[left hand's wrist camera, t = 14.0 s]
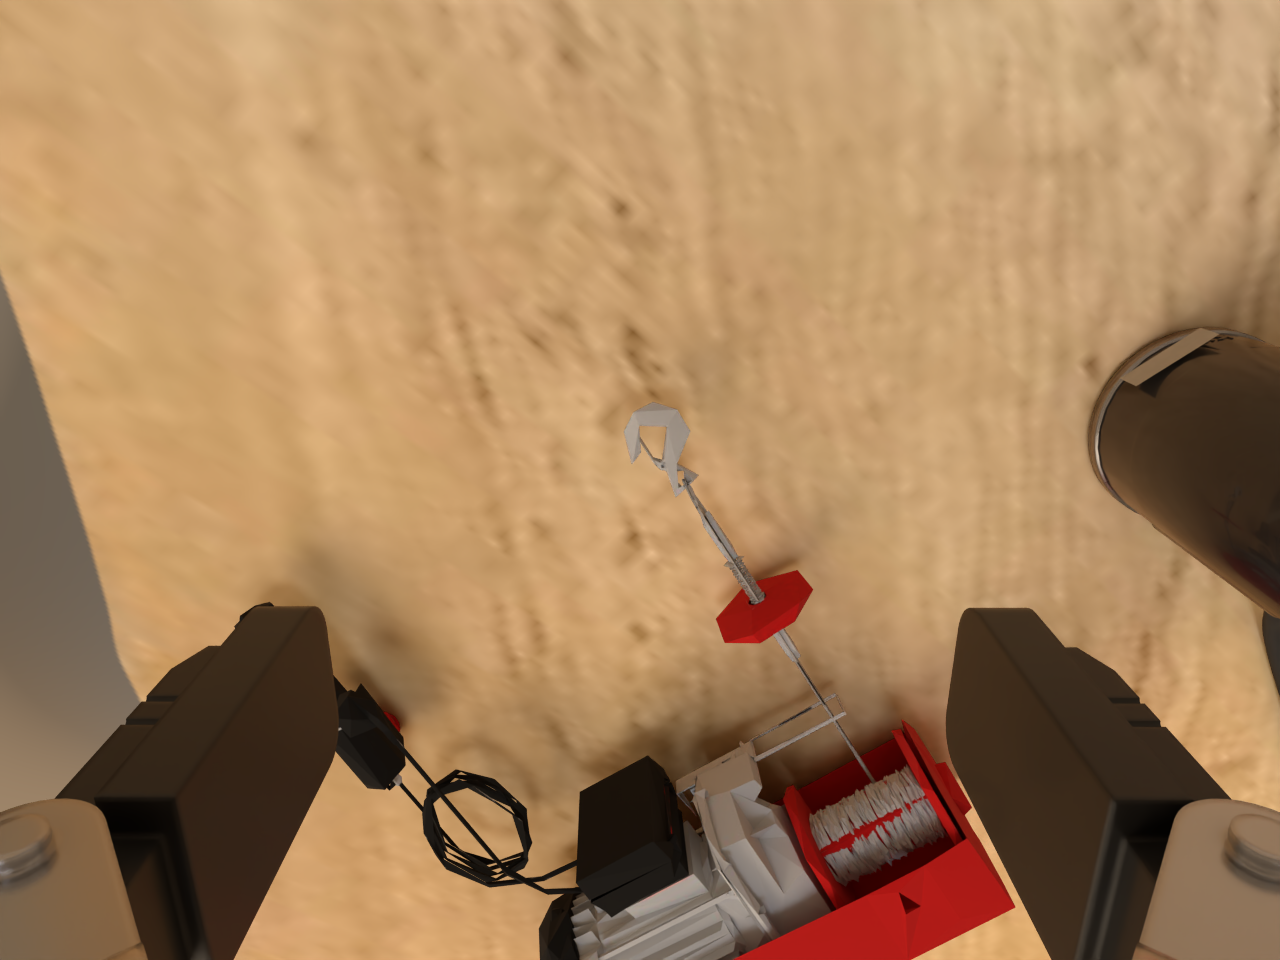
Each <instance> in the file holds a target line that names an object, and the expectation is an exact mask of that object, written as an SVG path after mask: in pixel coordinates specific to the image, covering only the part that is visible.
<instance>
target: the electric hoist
mask: <svg viewBox="0 0 1280 960" xmlns="http://www.w3.org/2000/svg"><path fill="white" fill-rule="evenodd" d="M639 426H662V427H667V428H666V435H665V443H664V450H663V458H662V460H661V459H657V458H654V457H653V456H652V455H651V453H650V452H649V450H648V448H647V447H646V445H645V444H644V442H643V441H642V439H641V437H640V433H639ZM689 433H690V430H689V428H688V427H687V425H686V423H685V422H684V420H683V418H682V417H681V415H680V414H679V412H678V410H677V409H674V408H671V407H667V406H664V405H661V404H658V403H655V402H652V403H650V404H648V405H646V406H644V407H642V408H640V409H639V410H637V411H635V412H633V414H632V416H631V418H630V420H629V422H628V424H627V426H626V428H625V430H624V434H625V438H626V443H627V447H628V451H629V455H630V459H631V464H633V462H634V461H635V460H636V458H637V457H638V455H639V454H640V453H641V447H640V443H641V444H642V446H643V447H644V449H645V450H646V452H647V453H648V455H649V457H650V458H651V460H652V461H653V463H654V464H655V465H656V466H657V467H658V468H659V469H660V470H664V471H666V472H667V474H668V477H669V480H670V482H671V485H672V488H673V491H674V494H675V497H677V496H678V495H679V494H680V493H681V492H682V491H683V490H684V489H685V488H686V490H687V492H688V494H689V496H690V498H691V500H692V502H693V503H694V505H695V507H696V509H697V510H698V512H699V514H700V516H701V518H702V522H703V526H704V528H705V529H706V531H707V532H708V534H709V535H710V537H711V538H712V539H713V541H714V542H715V544H716V545H717V547H718V548H719V550H720V551H721V552H722V554H723V555H724V556H725V558H726V559H727V560H728V562H727V563H726V564H725V565H724V566H727V567H729V568H730V570H732V572H733V573H734V574H733V575H734V576H735V578H736V579H737V580H738V583H741V585H740V586H741V587H743V588H742V589H741V591H740V592H739V593H738V594H737V595H736V596H735V597H734V599H733V600H732V601H731V602H730V603H729V604H728V606H727V607H726V608H725V609H724V610H723V611H722V612H721V614H720V615H719V616H718V617H717V618H716V620H717V623H718V626H719V628H720V631H721V634H722V637H723V639H724V642H725V643H761V642H763V641H764V640H766V639H768V638H769V637H771V636H772V635H773V636H774V637H775V638H776V640H777V641H778V643H779V644H780V646H781V647H782V649H783V650H784V651H785V653H786V654H787V656H788V657H789V658H790V659H791V660H792V661H793V662H795V663H796V665H797V667H798V668H799V670H800V671H801V673H802V674H803V676H804V677H805V679H806V681H807V682H808V684H809V685H810V687H811V688H812V690H813V691H814V693H815V695H816V696H817V698H818V699H819V702H817V703H815V704H814V705H812V706H810V707H808V708H806V709H805V710H803V711H801V712H799V713H797V714H795V715H794V716H792V717H790V718H788V719H786V720H785V721H783V722H781V723H779V724H777V725H776V726H774V727H772V728H770V729H768V730H766V731H765V732H763V733H761V734H759V735H757V736H756V737H754V738H752V739H750V740H749V742H747V743H745V744H744V743H743V742H741V741H740V743H739V744H740V747H738V748H736V749H735V750H733V751H731V752H729V753H727V754H725V755H723V756H721V757H720V758H718V759H716V760H714V761H712V762H710V763H708V764H706V765H704V766H703V767H701V768H699V769H697V770H695V771H693V772H691V773H689V774H687V775H686V776H684V777H682V778H680V779H678V780H676V792H675V790H674V788H673V785H672V783H671V782H670V779H669V778H668V776H667V774H666V772H665V771H664V769H663V768H662V767H661V766H660V765H658V764H657V763H656V762H655V761H654V760H652V759H651V758H650V757H649V756H646V757H644V758H642V759H641V760H639V761H637V762H635V763H633V764H631V765H629V766H627V767H626V768H624V769H622V770H620V771H618V772H616V773H614V774H613V775H611V776H609V777H607V778H605V779H603V780H601V781H599V782H598V783H596V784H594V785H592V786H590V787H588V788H586V789H585V790H583V791H581V792H580V801H579V825H578V849H577V860H575V861H573V862H571V863H569V864H567V865H565V866H563V867H561V868H559V869H556V870H554V871H552V872H550V873H548V874H546V875H544V876H541V877H531V878H525V877H523V876H521V875H520V874H518V873H516V872H517V871H519V870H521V869H523V868H524V867H525V866H526V864H527V862H528V852H529V849H530V847H531V844H532V841H531V838H530V834H529V827H528V820H527V809H526V808H525V807H524V806H523V805H522V804H521V803H520V802H519V801H518V800H517V799H516V798H514V797H513V796H512V795H511V794H510V793H509V792H508V791H507V790H506V789H505V788H504V787H502V786H501V785H500V784H499V783H498V782H497V781H496V780H495V779H493V778H489V777H485V776H481V775H476V774H472V773H468V772H464V771H460V770H454V771H453V772H452V773H450V774H449V775H447V776H446V777H444V778H443V779H442V780H440V781H439V782H437V783H436V784H435V783H434V782H433V781H432V780H431V779H430V777H429V776H428V775H427V774H426V773H425V771H424V770H423V769H422V768H421V767H420V766H419V764H418V763H417V762H416V761H415V760H414V758H413V757H412V756H411V755H410V754H409V753H408V751H407V750H406V749H405V748H404V741H403V736H402V735H401V734H400V733H399V732H400V725H399V722H398V720H397V719H396V717H395V716H393V715H391V714H389V713H387V712H383V711H382V710H381V708H380V707H379V706H378V704H377V703H376V702H375V701H374V699H373V698H372V697H371V695H370V694H369V693H368V692H367V690H366V689H365V688H364V686H363V685H362V684H360V685H359V687H358V689H357V690H356V692H354V691H352V690H349V691H346V689H345V688H344V687H343V686H342V685H341V684H340V682H339V681H338V680H337V679H336V678H335V677H334V675H333V677H334V685H335V692H336V699H337V706H338V715H339V730H338V740H337V746H336V752H337V754H338V755H339V756H340V757H341V758H342V759H343V761H344V762H345V763H346V764H347V765H348V766H349V767H350V769H351V770H352V771H353V772H354V773H355V774H356V776H357V777H358V778H359V779H360V780H361V781H362V782H363V784H364V785H365V786H366V787H367V788H370V789H383V790H385V789H386V788H387V789H388V790H389V791H390V790H391V789H392V788H393V787H394V786H395V785H397V786H400V787H401V788H402V789H403V790H404V791H405V793H406V794H407V795H408V796H409V797H410V798H411V800H412V801H413V802H414V803H415V804H416V805H417V806H418V808H419V809H420V810H421V811H422V812H423V813H422V816H423V830H424V835H425V837H426V838H427V840H428V842H429V844H430V846H431V847H432V849H433V851H434V853H435V855H436V856H437V857H438V859H439V860H440V862H441V863H442V864H443V866H444V867H445V868H446V869H447V870H449V871H451V872H454V873H456V874H459V875H461V876H463V877H466V878H468V879H471V880H473V881H475V882H478V883H480V884H483V885H485V886H487V887H498V886H506V885H515V884H523V883H524V884H526V885H529V886H531V887H533V888H535V889H537V890H539V891H541V892H544V893H546V894H548V895H549V894H564V895H562V896H560V897H559V898H557V899H555V900H554V901H552V903H551V905H550V907H549V909H548V911H547V913H546V915H545V917H544V919H543V921H542V923H541V926H540V928H539V945H540V960H911V959H913V958H915V957H917V956H919V955H921V954H923V953H925V952H927V951H929V950H931V949H933V948H935V947H937V946H939V945H941V944H943V943H945V942H947V941H949V940H951V939H953V938H955V937H957V936H959V935H961V934H963V933H965V932H967V931H969V930H971V929H973V928H975V927H977V926H979V925H981V924H983V923H985V922H987V921H989V920H991V919H993V918H995V917H997V916H999V915H1001V914H1003V913H1005V912H1007V911H1009V910H1011V909H1013V908H1015V905H1014V903H1013V901H1012V899H1011V897H1010V895H1009V894H1008V892H1007V890H1006V888H1005V886H1004V884H1003V882H1002V880H1001V878H1000V876H999V875H998V873H997V871H996V869H995V867H994V865H993V864H992V862H991V860H990V858H989V856H988V854H987V853H986V851H985V849H984V847H983V845H982V843H981V842H980V840H979V838H978V837H977V835H976V834H975V832H974V831H973V829H972V827H971V826H970V824H969V822H968V820H967V818H966V817H965V814H966V813H967V812H968V811H969V810H970V809H971V808H972V807H971V805H970V803H969V802H968V800H967V798H966V797H965V795H964V793H963V791H962V790H961V788H960V786H959V785H958V783H957V781H956V780H955V778H954V776H953V774H952V773H951V771H950V769H949V768H948V766H947V764H946V763H945V762H943V763H939V764H936V762H935V761H934V759H933V758H932V756H931V755H930V753H929V751H928V750H927V748H926V747H925V745H924V744H923V742H922V740H921V739H920V737H919V736H918V734H917V733H916V731H915V729H914V728H912V727H911V726H910V725H909V724H907V723H906V722H905V721H903V720H902V719H901V720H902V724H903V728H904V732H905V733H903V731H902V730H901V729H898V730H892V733H893V735H894V737H895V738H894V739H892V740H890V741H888V742H886V743H885V744H883V745H881V746H879V747H877V748H875V749H873V750H872V751H870V752H868V753H866V754H864V755H862V756H859V755H858V753H857V751H856V750H855V748H854V747H853V745H852V744H851V742H850V740H849V739H848V737H847V736H846V734H845V733H844V731H843V729H842V728H841V726H840V725H839V723H838V721H837V719H839V718H841V717H842V716H844V715H846V712H845V710H844V708H843V706H842V704H841V701H840V699H839V697H838V695H837V694H836V693H834V694H832V695H830V696H828V697H826V698H825V699H823V698H822V696H821V695H820V693H819V692H818V690H817V688H816V687H815V685H814V684H813V682H812V680H811V679H810V677H809V676H808V674H807V673H806V671H805V669H804V668H803V666H802V665H801V663H800V662H799V660H798V658H799V657H800V656H801V655H800V653H799V652H798V650H797V648H796V646H795V644H794V642H793V641H792V639H791V638H790V636H789V635H788V633H787V632H786V631H785V629H784V628H785V627H787V626H788V625H790V624H791V623H793V622H795V620H796V618H797V617H798V615H799V613H800V612H801V610H802V608H803V606H804V605H805V603H806V601H807V599H808V598H809V596H810V594H811V592H812V591H813V589H812V587H811V586H810V585H809V584H808V582H807V581H806V580H805V579H804V578H803V576H802V575H801V574H800V573H799V571H798V570H796V571H792V572H788V573H785V574H781V575H777V576H774V577H770V578H766V579H763V580H759V581H755V580H754V578H753V576H751V574H750V573H749V572H748V569H747V568H746V566H745V565H744V562H742V560H741V559H742V558H743V557H744V556H737V554H736V552H735V550H734V548H733V546H732V544H731V542H730V541H729V539H728V538H727V536H726V535H725V534H724V532H723V531H722V529H721V528H720V526H719V525H718V523H717V522H716V520H715V519H714V517H713V516H712V515H711V513H710V512H709V511H706V509H705V508H704V506H703V505H702V504H701V502H700V501H699V499H698V498H697V497H696V495H695V493H694V491H693V489H692V487H691V486H690V484H691V483H692V482H693V481H694V480H695V479H696V477H697V476H698V474H696V473H694V472H692V471H690V470H689V469H687V468H685V467H683V466H681V465H680V464H678V463H677V462H678V460H679V457H680V455H681V453H682V450H683V448H684V445H685V443H686V440H687V438H688V436H689ZM682 470H683V471H684V479H682V482H683V484H684V485H683V486H681V485H680V484H679V483H678V476H677V471H682ZM736 558H737V560H736ZM739 563H740V564H739ZM742 563H743V564H742ZM740 565H742V566H744V567H743V568H741V567H742V566H740ZM734 569H735V571H736V572H735V571H734ZM745 572H746V573H745ZM747 574H748V576H747ZM737 575H738V576H737ZM749 575H750V576H749ZM738 578H740V579H738ZM739 580H740V581H739ZM741 580H742V581H741ZM749 581H752V582H749ZM742 585H744V586H742ZM259 606H273V604H272V603H270V602H268V603H264V604H260V605H256V606H254V607H252V608H251V609H249V610H248V611H246V612H245V613H243V614H242V615H241V616H240V621H239V622H238V623H237V624H236V625H235V626H234V627H235V628H236V627H237V626H238V625H239V624H240V622H241V621H242V620H243V619H244V618H245V616H246V615H247V614H248V613H249V612H250V611H251V610H252V609H253V608H255V607H259ZM834 697H837V699H838V701H839V704H840V706H841V708H842V710H843V712H842V713H840V714H838V715H836V716H834V715H833V714H832V712H831V710H830V709H829V707H828V706H827V704H826V703H825V702H826V701H828V700H830V699H832V698H834ZM821 704H822V705H823V707H824V709H825V710H826V712H827V713H828V715H829V716H830V719H828V720H826V721H825V722H823V723H821V724H819V725H817V726H815V727H813V728H811V729H809V730H807V731H805V732H803V733H801V734H799V735H797V736H795V737H793V738H791V739H789V740H787V741H786V742H784V743H782V744H780V745H778V746H776V747H774V748H772V749H770V750H768V751H766V752H764V753H762V754H760V755H758V756H756V752H755V749H754V745H753V741H754V740H755V739H757V738H759V737H761V736H763V735H765V734H767V733H768V732H770V731H772V730H774V729H776V728H778V727H780V726H782V725H783V724H785V723H787V722H789V721H791V720H793V719H795V718H796V717H798V716H800V715H802V714H804V713H806V712H808V711H810V710H811V709H813V708H815V707H817V706H819V705H821ZM831 722H833V723H834V724H835V726H836V727H837V729H838V730H839V732H840V733H841V735H842V737H843V738H844V740H845V741H846V743H847V744H848V746H849V747H850V749H851V751H852V752H853V754H854V755H855V757H856V758H857V759H855V760H853V761H851V762H849V763H847V764H846V765H844V766H842V767H840V768H838V769H836V770H834V771H833V772H831V773H829V774H827V775H825V776H823V777H821V778H820V779H818V780H816V781H814V782H812V783H810V784H808V785H807V786H805V787H803V788H801V789H799V790H796V788H795V787H794V785H792V786H790V787H787V789H786V792H785V795H784V798H782V799H781V800H779V801H777V802H775V803H773V804H771V803H768V802H766V801H764V800H762V799H760V798H758V797H757V796H758V794H759V793H760V791H761V789H762V784H761V780H760V775H759V771H758V767H757V763H756V761H759V760H761V759H763V758H765V757H767V756H769V755H771V754H772V753H774V752H776V751H778V750H780V749H782V748H784V747H786V746H788V745H789V744H791V743H793V742H795V741H797V740H799V739H801V738H803V737H805V736H806V735H808V734H810V733H812V732H814V731H816V730H818V729H820V728H822V727H824V726H825V725H827V724H829V723H831ZM405 756H406V757H407V758H408V760H409V761H410V762H411V763H412V764H413V766H414V767H415V768H416V769H417V770H418V771H419V773H420V774H421V775H422V776H423V777H424V778H425V780H426V781H427V782H428V783H429V784H430V786H431V787H430V788H429V789H427V795H426V799H425V800H424V806H422V805H421V804H420V803H419V802H418V801H417V799H416V798H415V797H414V796H413V795H412V794H411V793H410V791H409V790H408V789H407V788H406V787H405V786H404V785H403V783H402V777H401V776H400V775H399V773H400V771H401V770H402V769H403V768H404V767H405V765H406V764H405ZM460 772H462V773H464V774H466V775H457V774H459V773H460ZM454 778H458V780H457V781H455V782H451V781H452V780H453V779H454ZM460 779H463V780H467V781H462V780H460ZM450 782H451V783H450ZM390 783H391V784H390ZM389 784H390V786H389ZM488 786H489V787H488ZM490 787H491V788H490ZM465 788H469V789H471V790H473V791H474V792H476V793H478V794H480V795H482V796H483V797H485V798H487V799H489V800H491V801H493V802H494V803H496V804H497V805H499V806H500V807H502V808H503V809H504V810H506V811H507V812H509V813H510V814H512V816H513V819H514V822H515V825H516V828H517V831H518V834H519V837H520V840H521V843H522V847H523V850H524V851H523V852H521V853H518V854H515V855H512V856H510V857H507V858H504V859H501V860H499V859H498V858H497V857H496V855H495V854H494V853H493V852H492V851H491V849H490V848H489V847H488V846H487V845H486V844H485V842H484V841H483V840H482V839H481V838H480V836H479V835H478V834H477V833H476V832H475V831H474V829H473V828H472V827H471V826H470V825H469V823H468V822H467V821H466V820H465V819H464V818H463V816H462V815H461V814H460V813H459V812H458V810H457V809H456V808H455V807H454V806H453V805H452V803H451V802H450V801H449V800H448V799H447V797H446V796H445V795H444V794H448V793H451V792H455V791H458V790H462V789H465ZM492 788H493V789H492ZM689 788H690V791H691V793H692V794H693V796H694V797H693V800H692V801H691V802H693V803H694V805H695V807H696V810H697V812H698V814H699V817H700V819H701V824H702V825H701V828H699V829H697V830H694V829H693V827H692V826H691V825H690V824H689V822H688V821H685V822H683V819H682V812H681V811H680V810H679V809H678V806H677V795H678V796H679V798H680V799H681V800H682V801H683V802H684V803H685V804H686V805H687V806H688V808H689V809H690V810H691V811H692V812H693V813H694V814H695V812H694V810H693V809H692V807H691V805H690V802H688V800H687V798H686V797H685V795H684V793H683V792H684V791H686V790H688V789H689ZM494 789H495V790H494ZM676 794H677V795H676ZM440 797H441V798H442V800H443V801H444V802H445V803H446V804H447V806H448V807H449V808H450V809H451V810H452V811H453V813H454V814H455V815H456V816H457V817H458V819H459V820H460V821H461V822H462V823H463V824H464V826H465V827H466V828H467V829H468V830H469V831H470V833H471V834H472V835H473V836H474V837H475V839H476V840H477V841H478V842H479V843H480V844H481V846H482V847H483V848H484V849H485V850H486V851H487V853H488V854H489V855H490V856H491V857H492V859H493V860H491V859H488V858H484V857H481V856H478V855H474V854H471V853H467V852H464V851H462V850H461V849H459V848H458V846H457V845H456V844H455V843H454V842H453V841H452V840H451V838H450V837H449V836H448V835H447V834H446V833H445V832H444V830H443V829H442V828H441V827H440V824H439V821H438V818H437V815H436V811H435V808H434V805H433V803H434V802H435V801H436V800H437V799H439V798H440ZM491 798H492V799H491ZM512 798H513V799H514V800H516V802H517V803H516V802H515V801H514V800H513V799H512ZM493 799H494V800H496V801H499V802H501V803H503V804H505V805H508V806H510V807H511V809H512V810H513V812H514V814H513V813H512V812H511V811H509V810H508V809H506V808H505V807H503V806H502V805H500V804H499V803H497V802H496V801H494V800H493ZM695 815H696V814H695ZM696 817H697V816H696ZM697 818H698V817H697ZM704 832H705V833H704ZM702 833H704V834H702ZM700 834H702V837H700V836H699V835H700ZM443 836H444V837H445V838H446V840H447V841H448V842H449V843H450V844H451V845H452V846H451V845H449V844H448V843H446V842H445V841H444V837H443ZM446 846H447V847H449V848H450V849H452V850H453V851H455V852H456V853H458V854H460V855H461V856H463V857H464V858H466V859H467V860H465V859H463V858H461V857H458V856H456V855H453V854H451V853H449V852H448V851H447V849H446ZM453 846H454V847H453ZM455 847H456V848H457V849H456V848H455ZM458 849H459V850H458ZM460 850H461V851H460ZM445 852H447V853H449V854H450V855H452V856H453V857H455V858H457V859H458V860H460V861H461V862H463V863H465V864H466V865H468V866H469V867H467V866H465V865H462V864H460V863H458V862H455V861H453V860H451V859H448V858H447V856H446V854H445ZM465 853H466V854H465ZM520 856H521V857H520ZM516 857H520V858H516ZM444 858H445V859H446V860H447V861H446V860H444ZM512 858H516V859H513V860H510V861H507V862H504V863H502V862H501V861H505V860H508V859H512ZM468 860H469V861H468ZM448 861H449V862H451V863H452V864H451V863H449V862H448ZM470 861H471V862H470ZM493 863H497V865H494V866H491V867H488V866H487V865H490V864H493ZM453 864H454V865H453ZM455 865H456V866H455ZM457 866H458V867H457ZM506 866H508V867H506ZM574 866H577V873H576V883H577V885H578V886H579V887H575V888H560V889H544V888H542V887H540V886H539V885H537V884H535V883H533V882H539V881H545V880H547V879H549V878H551V877H553V876H555V875H558V874H560V873H562V872H564V871H566V870H568V869H570V868H572V867H574ZM459 867H460V868H461V869H460V868H459ZM470 867H471V868H470ZM472 868H473V869H472ZM498 868H501V869H502V871H500V872H499V873H496V872H494V871H492V870H494V869H498ZM462 869H463V870H462ZM464 870H465V871H464ZM466 871H467V872H466ZM469 873H470V874H469ZM502 873H504V874H502ZM471 874H472V875H471ZM497 874H502V875H501V876H499V877H498V878H494V877H491V876H493V875H497ZM473 875H474V876H473ZM475 876H476V877H475ZM506 876H509V877H511V878H513V880H503V881H497V880H500V879H502V878H504V877H506ZM478 878H479V879H478ZM480 879H481V880H480ZM482 880H483V881H482ZM492 881H494V882H492Z"/></svg>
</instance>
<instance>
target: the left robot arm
mask: <svg viewBox="0 0 1280 960" xmlns="http://www.w3.org/2000/svg"><path fill="white" fill-rule="evenodd" d="M1088 447H1089V455H1090V460H1091V463H1092V466H1093V469H1094V472H1095V474H1096V476H1097V478H1098V479H1099V481H1100V483H1101V484H1102V485H1103V487H1104V488H1105V489H1106V490H1107V491H1108V492H1109V493H1110V494H1111V495H1112V496H1113V497H1114V498H1115V499H1117V500H1118V501H1119V502H1121V503H1122V504H1123V505H1125V506H1126V507H1127V508H1129V509H1131V510H1132V511H1134V512H1136V513H1138V514H1140V515H1142V516H1143V517H1144V518H1146V519H1147V520H1148V521H1150V522H1151V523H1152V525H1153V527H1154V528H1155V529H1157V530H1158V531H1159V532H1161V533H1162V534H1163V535H1165V536H1166V537H1167V538H1169V539H1170V540H1171V541H1173V542H1174V543H1175V544H1177V545H1178V546H1179V547H1181V548H1182V549H1183V550H1185V551H1186V552H1187V553H1189V554H1190V555H1191V556H1193V557H1194V558H1195V559H1197V560H1198V561H1199V562H1201V563H1202V564H1203V565H1205V566H1206V567H1207V568H1209V569H1210V570H1211V571H1213V572H1214V573H1215V574H1217V575H1218V576H1219V577H1221V578H1222V579H1223V580H1225V581H1226V582H1227V583H1229V584H1230V585H1231V586H1233V587H1234V588H1235V589H1237V590H1238V591H1239V592H1241V593H1242V594H1243V595H1245V596H1246V597H1247V598H1249V599H1250V600H1251V601H1253V602H1254V603H1255V604H1257V605H1258V606H1259V607H1261V608H1262V609H1263V610H1264V614H1263V620H1262V629H1263V636H1264V642H1265V646H1266V651H1267V655H1268V659H1269V662H1270V666H1271V669H1272V673H1273V676H1274V679H1275V683H1276V686H1277V689H1278V692H1279V695H1280V347H1277V346H1274V345H1271V344H1268V343H1265V342H1264V341H1262V340H1260V339H1258V338H1256V337H1253V336H1250V335H1247V334H1244V333H1241V332H1238V331H1234V330H1230V329H1224V328H1213V327H1206V328H1195V329H1188V330H1184V331H1180V332H1177V333H1174V334H1171V335H1168V336H1165V337H1163V338H1161V339H1159V340H1157V341H1155V342H1153V343H1151V344H1149V345H1148V346H1146V347H1145V348H1143V349H1141V350H1140V351H1138V352H1137V353H1136V354H1135V355H1133V356H1132V357H1131V358H1130V359H1129V360H1127V361H1126V362H1125V363H1124V364H1123V365H1122V366H1121V367H1120V368H1119V369H1118V370H1117V372H1116V373H1115V374H1114V375H1113V376H1112V378H1111V379H1110V380H1109V382H1108V383H1107V385H1106V386H1105V388H1104V389H1103V391H1102V393H1101V395H1100V397H1099V398H1098V401H1097V403H1096V405H1095V408H1094V411H1093V414H1092V417H1091V422H1090V426H1089V435H1088ZM338 730H339V715H338V706H337V699H336V692H335V685H334V677H333V670H332V663H331V656H330V648H329V641H328V634H327V627H326V622H325V618H324V615H323V613H322V611H321V610H320V609H319V608H318V607H315V606H259V607H255V608H253V609H252V610H251V611H250V612H249V613H248V614H247V615H246V616H245V618H244V619H243V620H242V621H241V622H240V624H239V625H238V626H237V627H236V628H235V630H234V631H233V632H232V633H231V634H230V635H229V637H228V638H227V639H226V640H225V641H224V643H223V644H222V645H221V646H208V647H206V648H204V649H203V650H201V651H200V652H198V653H196V654H195V655H193V656H191V657H190V658H188V659H187V660H185V661H183V662H182V663H180V664H178V665H177V666H175V667H174V668H172V669H171V670H170V671H169V672H168V673H167V674H166V675H165V676H164V677H163V678H162V680H161V681H160V682H159V683H158V684H157V685H156V686H155V687H154V688H153V690H152V691H151V692H150V693H149V694H148V695H147V700H146V702H141V703H140V704H139V705H138V706H137V707H136V709H135V710H134V711H133V712H132V713H131V714H130V715H129V716H128V717H127V719H126V724H125V725H120V726H119V727H118V729H117V730H116V731H115V732H114V733H113V734H112V735H111V736H110V737H109V739H108V740H107V741H106V742H105V743H104V744H103V745H102V746H101V747H100V749H99V750H98V751H97V752H96V753H95V754H94V755H93V756H92V758H91V759H90V760H89V761H88V762H87V763H86V764H85V765H84V766H83V768H82V769H81V770H80V771H79V772H78V773H77V774H76V775H75V776H74V778H73V779H72V780H71V781H70V782H69V783H68V784H67V785H66V786H65V788H64V789H63V790H62V791H61V792H60V793H59V794H58V795H57V796H56V798H55V799H50V800H42V801H37V802H33V803H28V804H24V805H20V806H17V807H14V808H11V809H8V810H5V811H3V812H0V960H234V958H235V956H236V954H237V952H238V950H239V948H240V946H241V944H242V942H243V940H244V938H245V936H246V934H247V932H248V930H249V928H250V926H251V924H252V922H253V920H254V918H255V916H256V914H257V912H258V910H259V908H260V906H261V904H262V902H263V900H264V898H265V896H266V894H267V892H268V890H269V888H270V886H271V884H272V882H273V880H274V878H275V876H276V874H277V872H278V870H279V868H280V866H281V864H282V862H283V860H284V858H285V856H286V854H287V852H288V850H289V848H290V846H291V844H292V842H293V840H294V838H295V836H296V834H297V832H298V830H299V828H300V826H301V824H302V822H303V820H304V818H305V816H306V814H307V812H308V810H309V808H310V806H311V804H312V802H313V800H314V798H315V796H316V794H317V792H318V790H319V788H320V786H321V784H322V782H323V780H324V778H325V776H326V774H327V772H328V770H329V768H330V766H331V763H332V761H333V758H334V755H335V751H336V746H337V740H338ZM946 737H947V744H948V749H949V754H950V758H951V761H952V764H953V766H954V768H955V770H956V772H957V774H958V776H959V778H960V780H961V782H962V784H963V786H964V788H965V790H966V792H967V794H968V796H969V798H970V800H971V802H972V804H973V806H974V808H975V810H976V812H977V814H978V815H979V817H980V819H981V821H982V823H983V825H984V827H985V829H986V831H987V833H988V835H989V837H990V839H991V841H992V843H993V845H994V847H995V849H996V851H997V853H998V855H999V857H1000V859H1001V861H1002V863H1003V865H1004V867H1005V869H1006V871H1007V873H1008V875H1009V877H1010V879H1011V881H1012V883H1013V885H1014V887H1015V889H1016V891H1017V893H1018V894H1019V896H1020V898H1021V900H1022V902H1023V904H1024V906H1025V908H1026V910H1027V912H1028V914H1029V916H1030V918H1031V920H1032V922H1033V924H1034V926H1035V928H1036V930H1037V932H1038V934H1039V936H1040V938H1041V940H1042V942H1043V944H1044V946H1045V948H1046V950H1047V952H1048V954H1049V956H1050V958H1051V960H1280V812H1277V811H1275V810H1272V809H1269V808H1266V807H1263V806H1260V805H1256V804H1252V803H1248V802H1243V801H1238V800H1232V799H1231V798H1230V797H1229V796H1228V795H1227V794H1226V793H1225V792H1224V791H1223V790H1222V788H1221V787H1220V786H1219V785H1218V784H1217V783H1216V782H1215V781H1214V780H1213V778H1212V777H1211V776H1210V775H1209V774H1208V773H1207V772H1206V771H1205V770H1204V769H1203V767H1202V766H1201V765H1200V764H1199V763H1198V762H1197V761H1196V760H1195V759H1194V758H1193V756H1192V755H1191V754H1190V753H1189V752H1188V751H1187V750H1186V749H1185V748H1184V746H1183V745H1182V744H1181V743H1180V742H1179V741H1178V740H1177V739H1176V738H1175V737H1174V735H1173V734H1172V733H1171V732H1170V731H1169V730H1168V729H1167V728H1166V727H1161V725H1160V720H1159V719H1158V718H1157V717H1156V716H1155V715H1154V713H1153V712H1152V711H1151V710H1150V709H1149V708H1148V707H1147V706H1146V705H1145V704H1140V698H1139V697H1138V696H1137V695H1136V694H1135V692H1134V691H1133V690H1132V689H1131V688H1130V687H1129V686H1128V685H1127V684H1126V683H1125V681H1124V680H1123V679H1122V678H1121V677H1120V676H1119V675H1118V674H1117V673H1116V671H1114V670H1113V669H1111V668H1109V667H1108V666H1106V665H1105V664H1103V663H1101V662H1100V661H1098V660H1096V659H1095V658H1093V657H1091V656H1090V655H1088V654H1087V653H1085V652H1083V651H1082V650H1080V649H1078V648H1077V647H1064V646H1063V645H1062V643H1061V642H1060V641H1059V640H1058V639H1057V637H1056V636H1055V635H1054V634H1053V633H1052V632H1051V630H1050V629H1049V628H1048V627H1047V626H1046V625H1045V623H1044V622H1043V621H1042V620H1041V619H1040V617H1039V616H1038V615H1037V614H1036V613H1035V612H1034V611H1033V610H1032V609H1030V608H968V609H966V610H965V611H964V613H963V614H962V616H961V619H960V622H959V627H958V634H957V641H956V648H955V655H954V662H953V670H952V677H951V684H950V691H949V698H948V705H947V713H946Z"/></svg>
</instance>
